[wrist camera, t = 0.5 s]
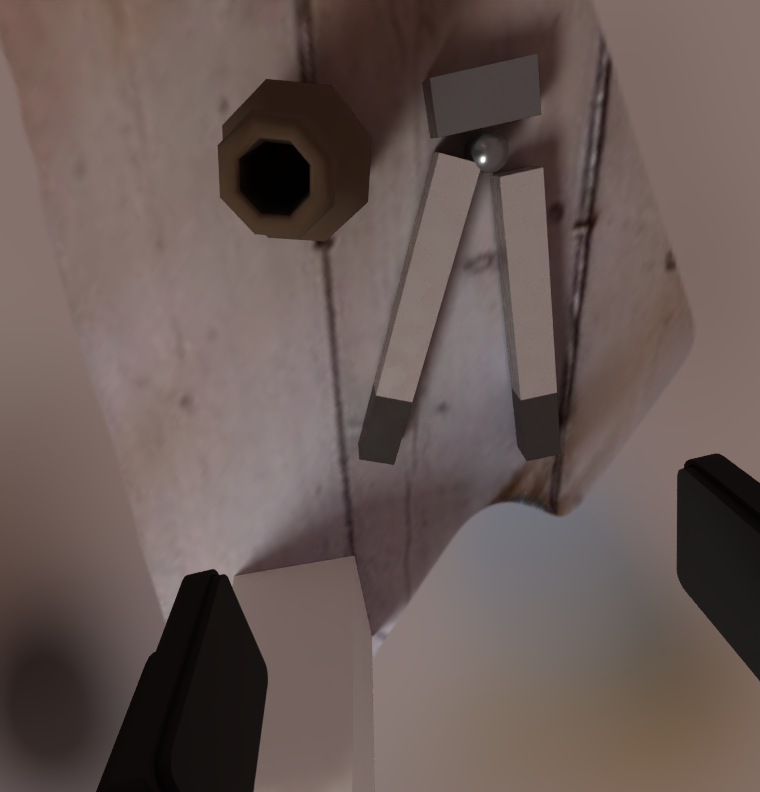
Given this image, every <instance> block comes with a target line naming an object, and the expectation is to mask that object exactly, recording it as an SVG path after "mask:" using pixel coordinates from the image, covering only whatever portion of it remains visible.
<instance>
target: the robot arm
mask: <svg viewBox="0 0 760 792" xmlns="http://www.w3.org/2000/svg"><path fill="white" fill-rule="evenodd" d="M677 575H678V578H679V581H680V583H681V585H682V587H683V588H684V590H685V591H686V592H687V593H688V595H689V596H690V597H691V598H692V599H693V600H694V602H695V603H696V604H697V605H698V607H699V608H700V609H701V610H702V611H703V613H704V614H705V615H706V616H707V618H708V619H709V620H710V621H711V622H712V624H713V625H714V626H715V627H716V628H717V630H718V631H719V632H720V633H721V634H722V636H723V637H724V638H725V639H726V641H727V642H728V643H729V644H730V645H731V647H732V648H733V649H734V650H735V651H736V653H737V654H738V655H739V656H740V657H741V659H742V660H743V661H744V662H745V663H746V665H747V666H748V667H749V668H750V670H751V671H752V672H753V673H754V674H755V676H756V677H757V678H758V679H759V681H760V483H759V482H757V481H756V480H755V479H753V478H752V477H751V476H750V475H748V474H747V473H746V472H744V471H743V470H741V469H740V468H739V467H737V466H736V465H735V464H733V463H732V462H731V461H729V460H728V459H727V458H725V457H724V456H722V455H720V454H711V455H707V456H703V457H698V458H694V459H690V460H688V461H686V463H685V464H684V468H683V469H680V470H679V471H678V475H677ZM267 687H268V672H267V666H266V663H265V661H264V659H263V656H262V654H261V652H260V650H259V647H258V645H257V643H256V640H255V638H254V636H253V634H252V631H251V629H250V627H249V624H248V622H247V620H246V618H245V615H244V613H243V611H242V608H241V606H240V604H239V602H238V599H237V597H236V595H235V592H234V590H233V588H232V586H231V583H230V581H229V579H228V577H227V576H226V575H225V574H222V575H219V574H218V572H217V571H216V570H214V569H212V570H207V571H203V572H198V573H194V574H190V575H187V576H185V577H184V579H183V581H182V583H181V586H180V588H179V591H178V594H177V596H176V599H175V602H174V604H173V607H172V610H171V612H170V615H169V618H168V620H167V623H166V626H165V628H164V631H163V634H162V637H161V639H160V642H159V644H158V647H157V650H156V652H154V653H153V654H152V655H151V656H149V658H148V660H147V662H146V664H145V667H144V669H143V672H142V674H141V677H140V680H139V682H138V685H137V687H136V690H135V692H134V695H133V698H132V700H131V703H130V706H129V708H128V710H127V713H126V716H125V718H124V721H123V724H122V726H121V729H120V731H119V734H118V736H117V739H116V742H115V744H114V747H113V749H112V752H111V755H110V757H109V760H108V762H107V765H106V767H105V770H104V773H103V775H102V778H101V780H100V783H99V786H98V788H97V791H96V792H254V784H255V777H256V769H257V762H258V754H259V747H260V739H261V732H262V724H263V717H264V709H265V702H266V694H267Z"/></svg>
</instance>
